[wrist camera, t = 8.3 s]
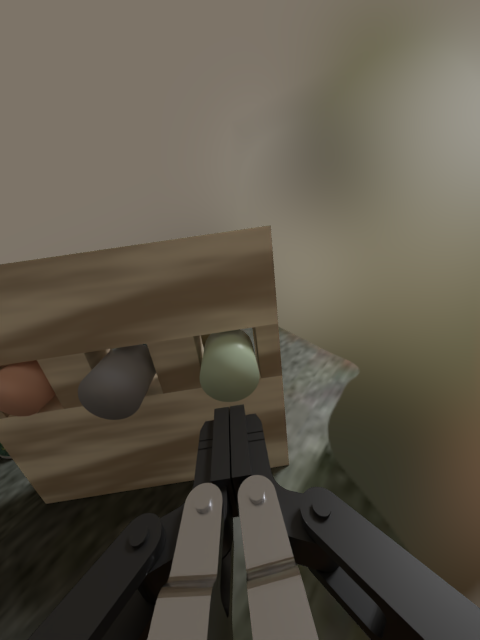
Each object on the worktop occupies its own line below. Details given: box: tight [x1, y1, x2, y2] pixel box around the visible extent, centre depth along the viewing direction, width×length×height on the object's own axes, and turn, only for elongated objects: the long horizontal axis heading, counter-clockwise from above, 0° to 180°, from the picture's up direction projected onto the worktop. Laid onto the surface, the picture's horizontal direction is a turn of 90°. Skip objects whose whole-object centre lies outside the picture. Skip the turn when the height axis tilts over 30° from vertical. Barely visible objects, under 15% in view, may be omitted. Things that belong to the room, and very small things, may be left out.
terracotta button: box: [0, 360, 56, 416], centre depth 18 cm, size 4×4×4 cm
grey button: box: [78, 344, 156, 420], centre depth 17 cm, size 4×4×4 cm
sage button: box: [200, 329, 260, 402], centre depth 17 cm, size 4×4×4 cm
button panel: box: [0, 226, 289, 504], centre depth 23 cm, size 10×24×22 cm, turn 94°
